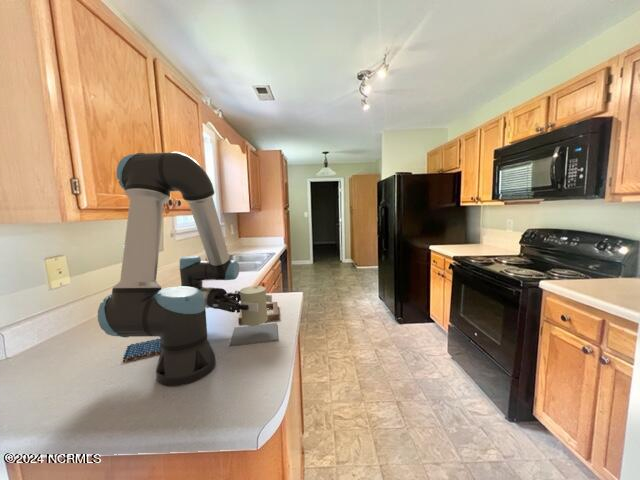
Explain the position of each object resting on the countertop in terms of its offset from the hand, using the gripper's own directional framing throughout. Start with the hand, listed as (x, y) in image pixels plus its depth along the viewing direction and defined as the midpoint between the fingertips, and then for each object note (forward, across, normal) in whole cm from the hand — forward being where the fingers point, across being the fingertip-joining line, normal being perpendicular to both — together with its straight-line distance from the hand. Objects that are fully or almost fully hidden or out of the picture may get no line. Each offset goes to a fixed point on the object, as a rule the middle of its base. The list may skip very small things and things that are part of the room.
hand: (264, 302), depth 95 cm
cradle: (-14, -17, -12) cm, 25 cm away
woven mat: (-33, +21, -13) cm, 41 cm away
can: (-5, 0, -7) cm, 9 cm away
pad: (-4, +1, -12) cm, 13 cm away
